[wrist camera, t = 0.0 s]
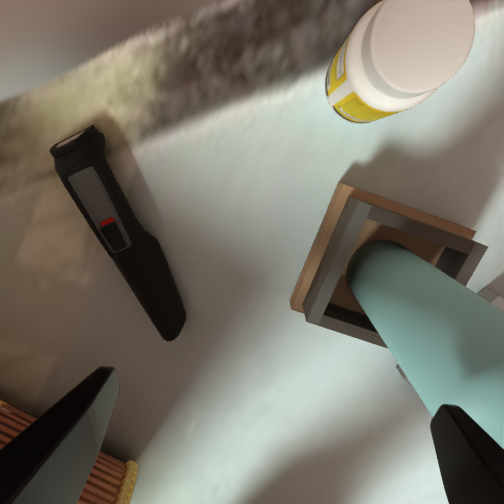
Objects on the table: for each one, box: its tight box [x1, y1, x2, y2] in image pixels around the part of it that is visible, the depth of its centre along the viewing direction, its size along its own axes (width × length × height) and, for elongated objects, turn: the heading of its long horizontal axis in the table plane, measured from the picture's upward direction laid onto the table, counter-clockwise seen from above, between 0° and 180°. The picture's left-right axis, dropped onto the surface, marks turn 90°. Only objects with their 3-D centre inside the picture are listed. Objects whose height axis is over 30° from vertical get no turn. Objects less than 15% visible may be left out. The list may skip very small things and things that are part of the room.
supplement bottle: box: [325, 0, 475, 124], centre depth 17 cm, size 5×5×8 cm
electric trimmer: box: [50, 125, 186, 341], centre depth 23 cm, size 4×16×3 cm, turn 23°
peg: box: [346, 240, 504, 449], centre depth 16 cm, size 5×5×13 cm
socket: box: [290, 182, 488, 348], centre depth 22 cm, size 9×9×4 cm
